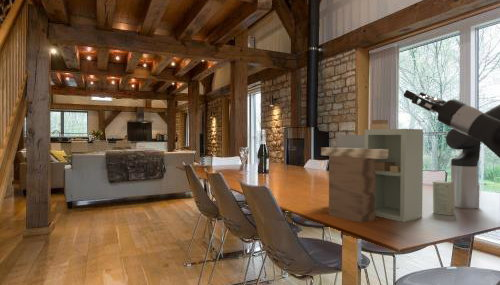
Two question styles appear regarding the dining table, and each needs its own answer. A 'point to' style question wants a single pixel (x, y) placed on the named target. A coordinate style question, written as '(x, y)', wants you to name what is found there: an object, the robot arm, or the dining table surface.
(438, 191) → the skincare box
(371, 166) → the walnut block
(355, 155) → the birch strip
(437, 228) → the dining table surface
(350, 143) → the folded grey card
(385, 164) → the rack
